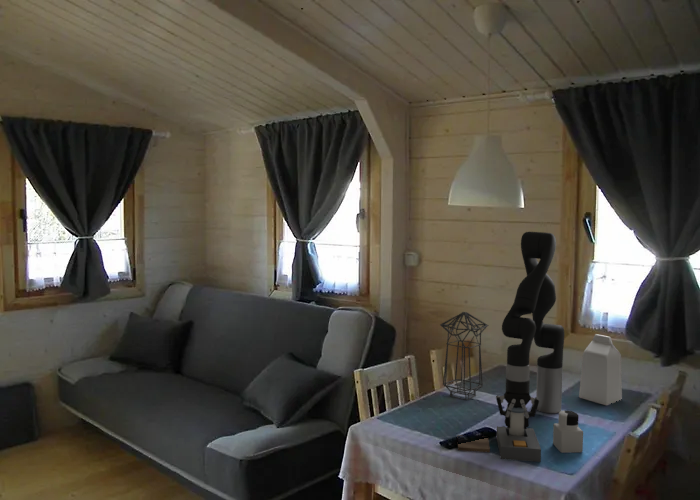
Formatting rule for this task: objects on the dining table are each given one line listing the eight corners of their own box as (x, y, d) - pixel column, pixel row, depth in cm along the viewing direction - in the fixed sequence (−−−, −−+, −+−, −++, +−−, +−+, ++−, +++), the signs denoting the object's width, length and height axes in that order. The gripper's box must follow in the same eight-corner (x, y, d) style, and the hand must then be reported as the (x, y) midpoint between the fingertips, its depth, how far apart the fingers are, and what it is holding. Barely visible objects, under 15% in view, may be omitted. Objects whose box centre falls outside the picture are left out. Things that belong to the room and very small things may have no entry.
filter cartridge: (507, 438, 200) (508, 403, 199) (523, 439, 199) (524, 404, 198) (509, 444, 195) (509, 408, 194) (525, 445, 194) (526, 409, 193)
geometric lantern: (436, 396, 245) (437, 312, 243) (456, 388, 257) (458, 307, 255) (470, 404, 235) (471, 316, 233) (489, 395, 246) (491, 311, 244)
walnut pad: (457, 438, 202) (457, 435, 202) (487, 440, 200) (487, 437, 200) (458, 450, 192) (458, 447, 192) (489, 452, 190) (489, 449, 190)
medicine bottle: (573, 443, 197) (575, 408, 196) (582, 452, 190) (584, 416, 189) (552, 444, 197) (553, 408, 196) (560, 453, 190) (562, 416, 189)
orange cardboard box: (513, 452, 189) (513, 440, 189) (524, 453, 189) (525, 440, 188) (514, 457, 186) (514, 444, 185) (526, 458, 185) (526, 445, 185)
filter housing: (496, 437, 202) (496, 426, 202) (533, 440, 200) (533, 428, 200) (500, 459, 185) (501, 446, 185) (540, 461, 183) (541, 449, 183)
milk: (578, 397, 244) (580, 334, 242) (594, 392, 251) (596, 331, 249) (606, 405, 234) (608, 340, 232) (621, 399, 241) (624, 336, 239)
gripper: (538, 374, 197) (537, 424, 199) (494, 373, 200) (493, 422, 201) (542, 381, 190) (540, 433, 191) (496, 379, 192) (495, 430, 194)
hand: (516, 427), depth 196 cm, fingers closed on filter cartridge, 4 cm apart
